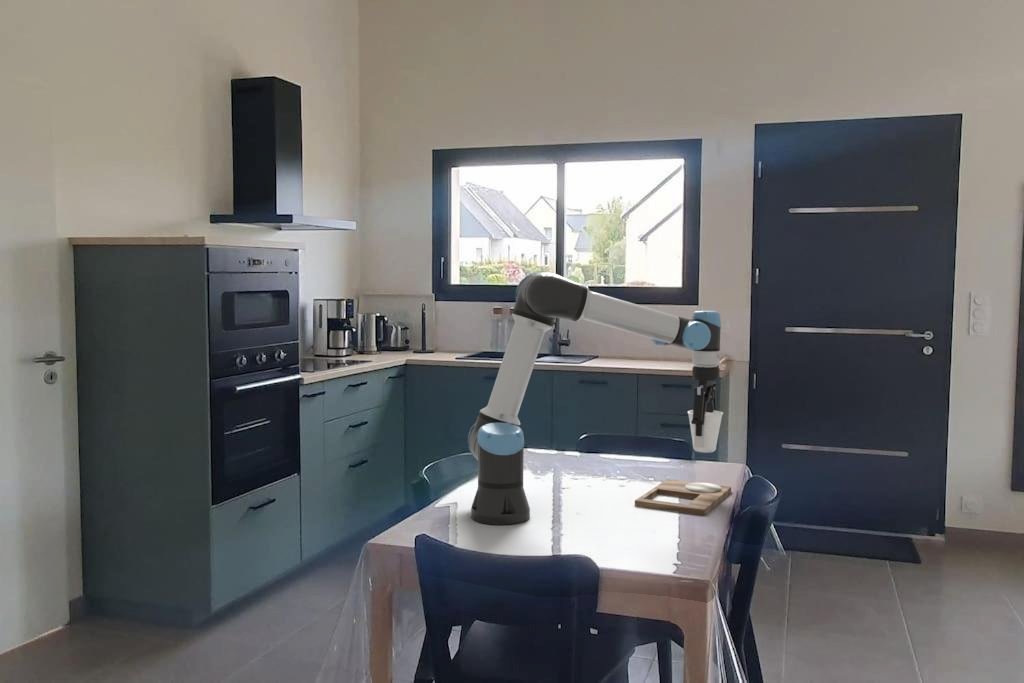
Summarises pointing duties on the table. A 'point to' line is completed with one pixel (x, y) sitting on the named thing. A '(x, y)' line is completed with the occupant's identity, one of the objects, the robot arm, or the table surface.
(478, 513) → the robot arm
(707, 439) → the cup
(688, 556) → the table surface
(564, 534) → the table surface
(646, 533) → the table surface
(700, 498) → the board
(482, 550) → the table surface
